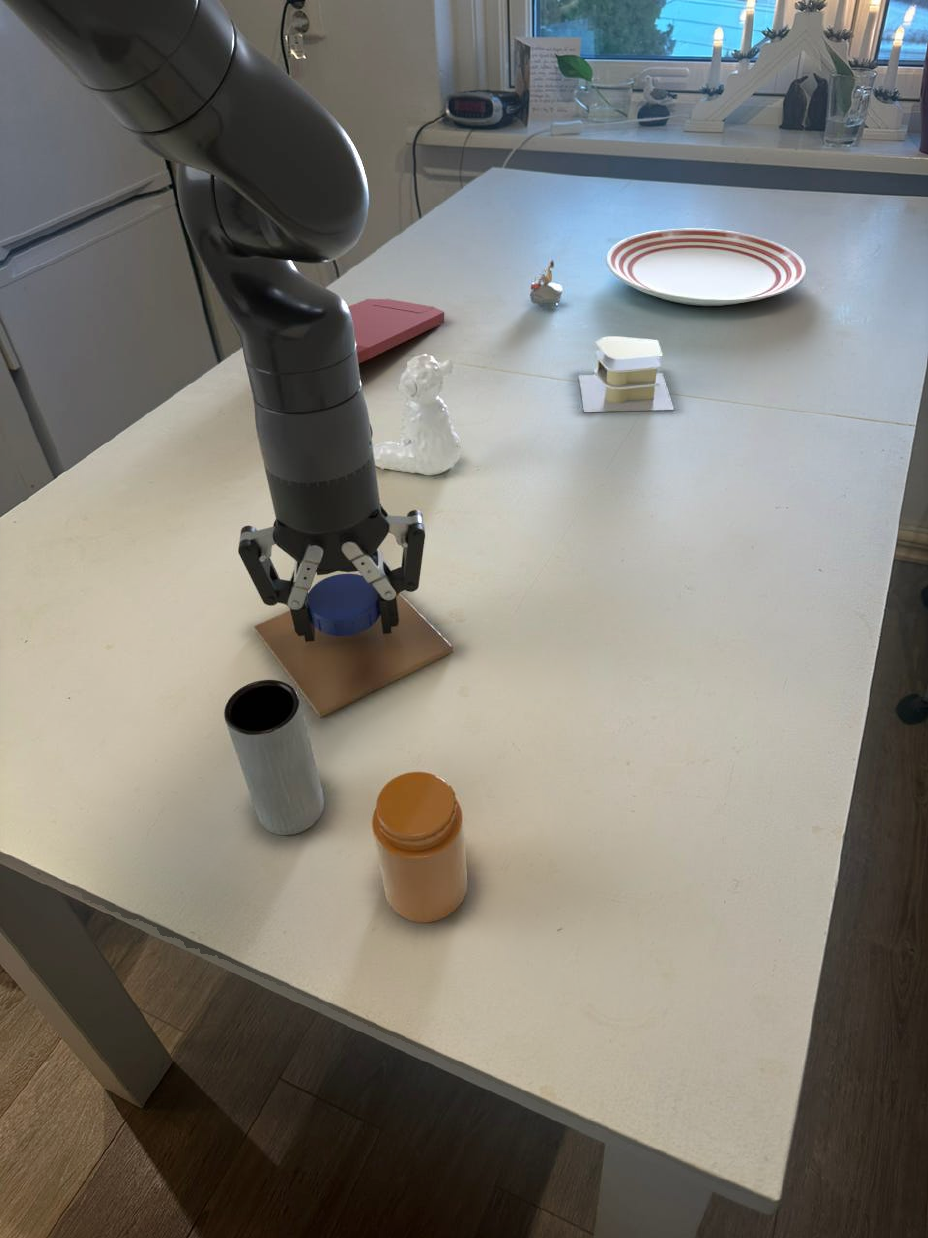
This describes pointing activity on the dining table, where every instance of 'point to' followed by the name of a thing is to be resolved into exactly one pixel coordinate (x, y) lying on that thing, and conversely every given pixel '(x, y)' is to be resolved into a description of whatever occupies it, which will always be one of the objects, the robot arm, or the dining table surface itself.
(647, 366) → the stacked layers on plate
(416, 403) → the white creature statuette
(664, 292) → the dinner plate
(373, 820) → the honey jar
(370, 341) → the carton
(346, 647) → the cork coaster
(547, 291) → the figurine
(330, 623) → the jar lid
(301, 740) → the grey tumbler
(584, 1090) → the dining table surface
